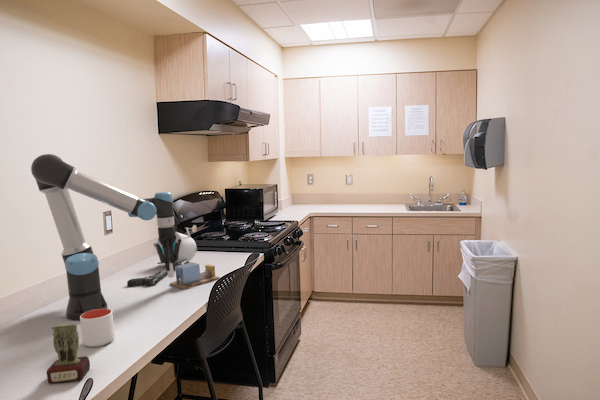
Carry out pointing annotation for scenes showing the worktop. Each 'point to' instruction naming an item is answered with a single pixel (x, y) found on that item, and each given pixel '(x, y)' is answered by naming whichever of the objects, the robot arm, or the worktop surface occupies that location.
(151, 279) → the handgun
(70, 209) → the robot arm
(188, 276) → the slate grey block
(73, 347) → the sculpture
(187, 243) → the satellite
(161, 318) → the worktop surface
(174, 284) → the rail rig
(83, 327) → the cup
